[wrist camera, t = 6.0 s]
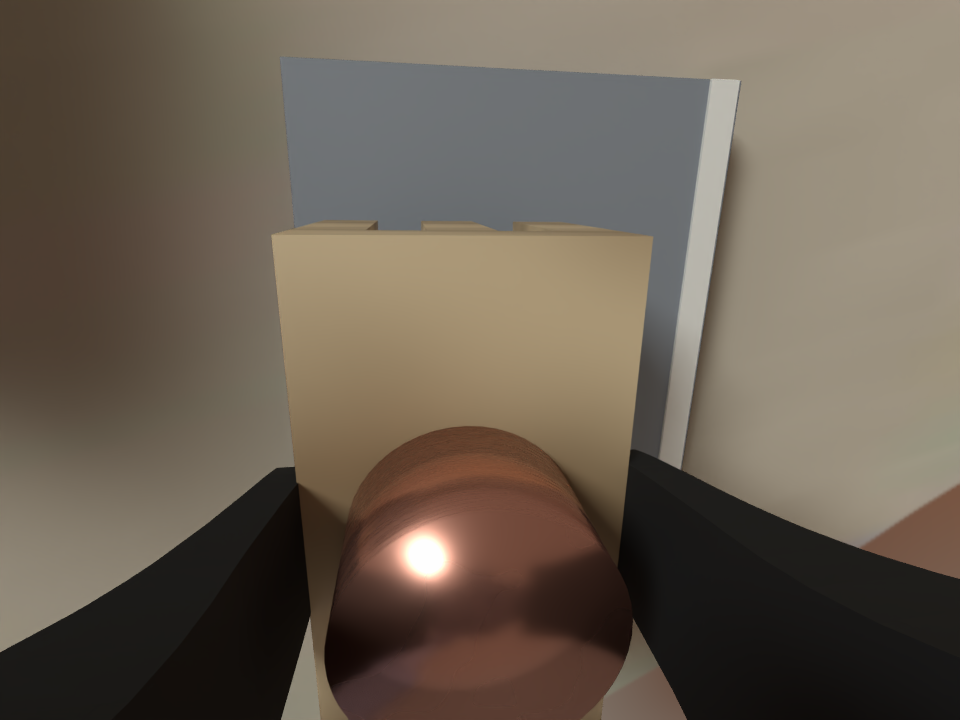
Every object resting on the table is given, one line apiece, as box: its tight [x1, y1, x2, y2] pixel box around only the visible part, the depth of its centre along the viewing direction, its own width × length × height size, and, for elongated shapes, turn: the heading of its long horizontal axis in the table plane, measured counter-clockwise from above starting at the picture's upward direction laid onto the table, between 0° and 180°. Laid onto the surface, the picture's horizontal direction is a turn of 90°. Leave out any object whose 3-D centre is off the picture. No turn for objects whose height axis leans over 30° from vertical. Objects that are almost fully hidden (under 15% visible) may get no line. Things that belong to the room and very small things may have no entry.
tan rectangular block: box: [271, 220, 653, 720], centre depth 11 cm, size 10×6×5 cm, turn 179°
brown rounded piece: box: [324, 426, 633, 720], centre depth 8 cm, size 4×4×2 cm
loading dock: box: [280, 57, 741, 470], centre depth 17 cm, size 18×12×3 cm, turn 179°
